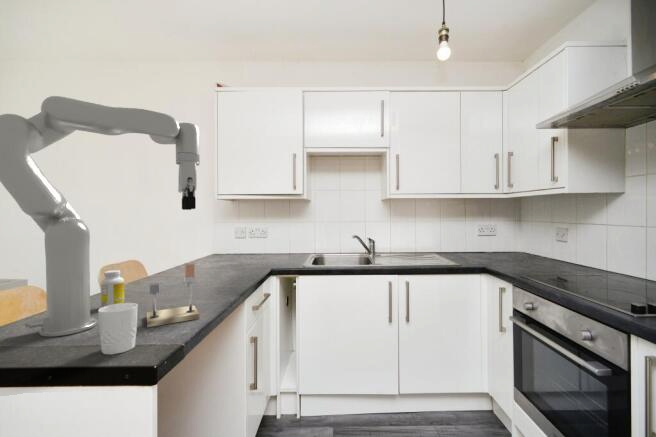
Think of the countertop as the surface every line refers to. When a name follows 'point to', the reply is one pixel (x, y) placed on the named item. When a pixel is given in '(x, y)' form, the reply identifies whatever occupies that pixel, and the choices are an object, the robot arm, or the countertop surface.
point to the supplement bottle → (112, 288)
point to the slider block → (189, 280)
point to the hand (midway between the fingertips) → (188, 209)
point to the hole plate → (172, 316)
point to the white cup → (118, 327)
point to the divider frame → (156, 287)
